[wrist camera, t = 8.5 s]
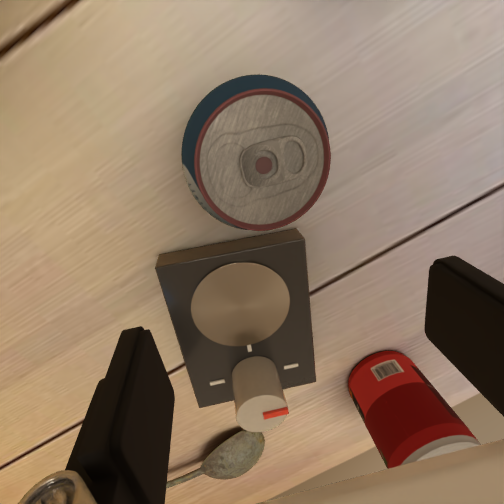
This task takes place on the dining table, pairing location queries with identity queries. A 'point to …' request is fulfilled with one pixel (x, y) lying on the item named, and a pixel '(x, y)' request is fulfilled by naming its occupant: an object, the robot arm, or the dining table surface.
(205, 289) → the burner ring
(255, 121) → the soda can
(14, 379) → the dining table surface
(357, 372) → the canned food
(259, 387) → the hob knob
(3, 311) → the dining table surface
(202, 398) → the hob
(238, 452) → the soupspoon
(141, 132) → the dining table surface
